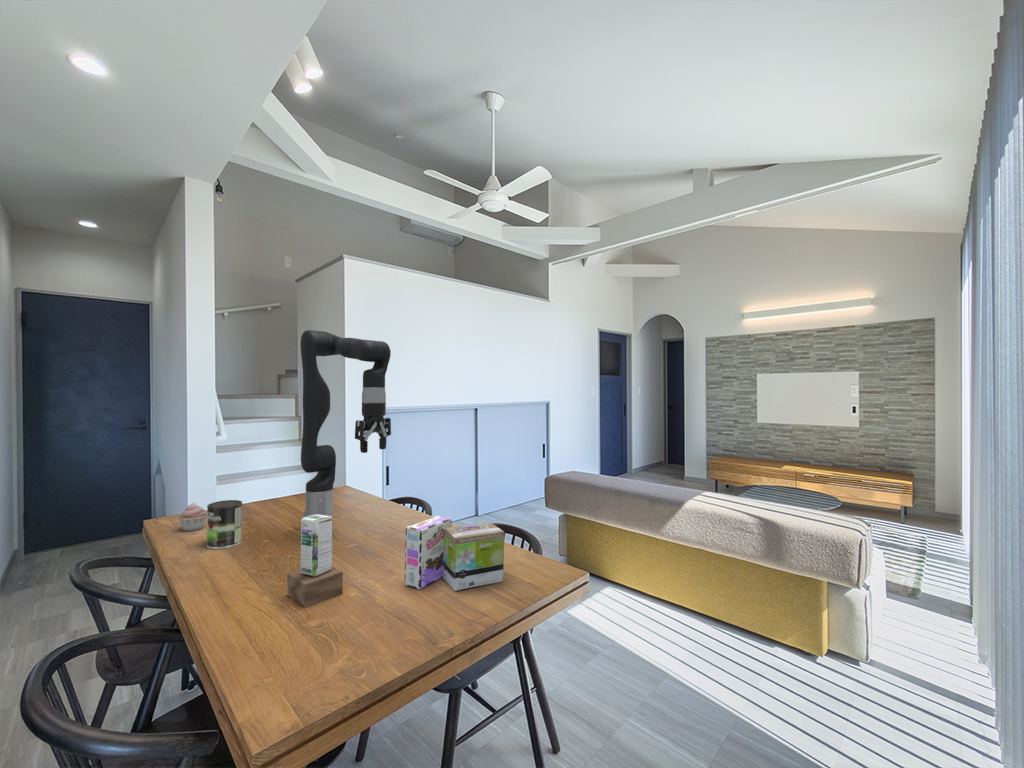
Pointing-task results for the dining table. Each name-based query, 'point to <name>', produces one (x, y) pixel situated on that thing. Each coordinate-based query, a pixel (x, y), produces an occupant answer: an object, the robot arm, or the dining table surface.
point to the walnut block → (314, 586)
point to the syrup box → (316, 544)
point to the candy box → (425, 551)
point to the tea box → (473, 555)
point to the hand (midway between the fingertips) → (373, 450)
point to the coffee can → (224, 524)
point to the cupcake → (193, 518)
